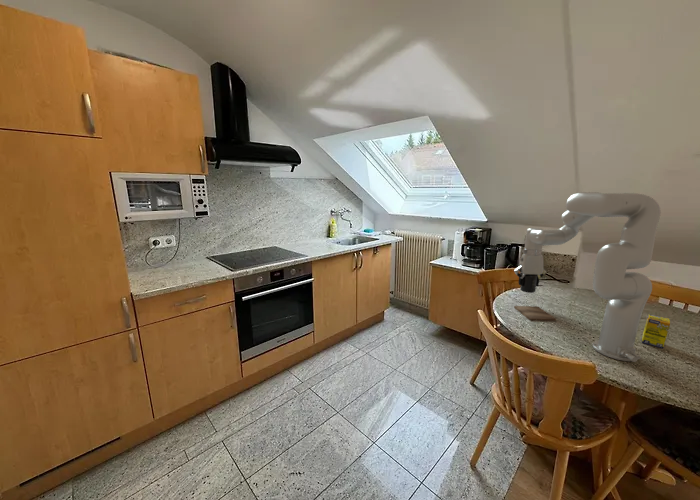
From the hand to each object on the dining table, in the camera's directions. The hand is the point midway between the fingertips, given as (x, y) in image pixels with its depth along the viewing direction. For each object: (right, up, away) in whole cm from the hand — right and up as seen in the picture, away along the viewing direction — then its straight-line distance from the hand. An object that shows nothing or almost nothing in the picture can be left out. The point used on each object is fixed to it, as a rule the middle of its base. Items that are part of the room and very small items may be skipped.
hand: (528, 285), depth 147 cm
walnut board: (-3, -13, -9) cm, 16 cm away
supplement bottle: (0, -3, +1) cm, 3 cm away
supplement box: (+28, -19, -34) cm, 48 cm away
